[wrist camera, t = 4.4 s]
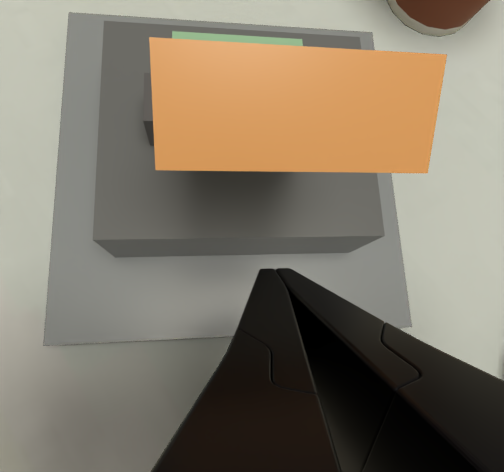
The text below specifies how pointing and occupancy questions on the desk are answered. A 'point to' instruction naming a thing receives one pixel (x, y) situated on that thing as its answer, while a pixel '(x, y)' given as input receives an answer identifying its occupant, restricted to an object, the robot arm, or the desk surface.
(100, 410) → the desk surface
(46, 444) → the desk surface
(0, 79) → the desk surface
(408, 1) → the coffee cup
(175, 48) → the lever
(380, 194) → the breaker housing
